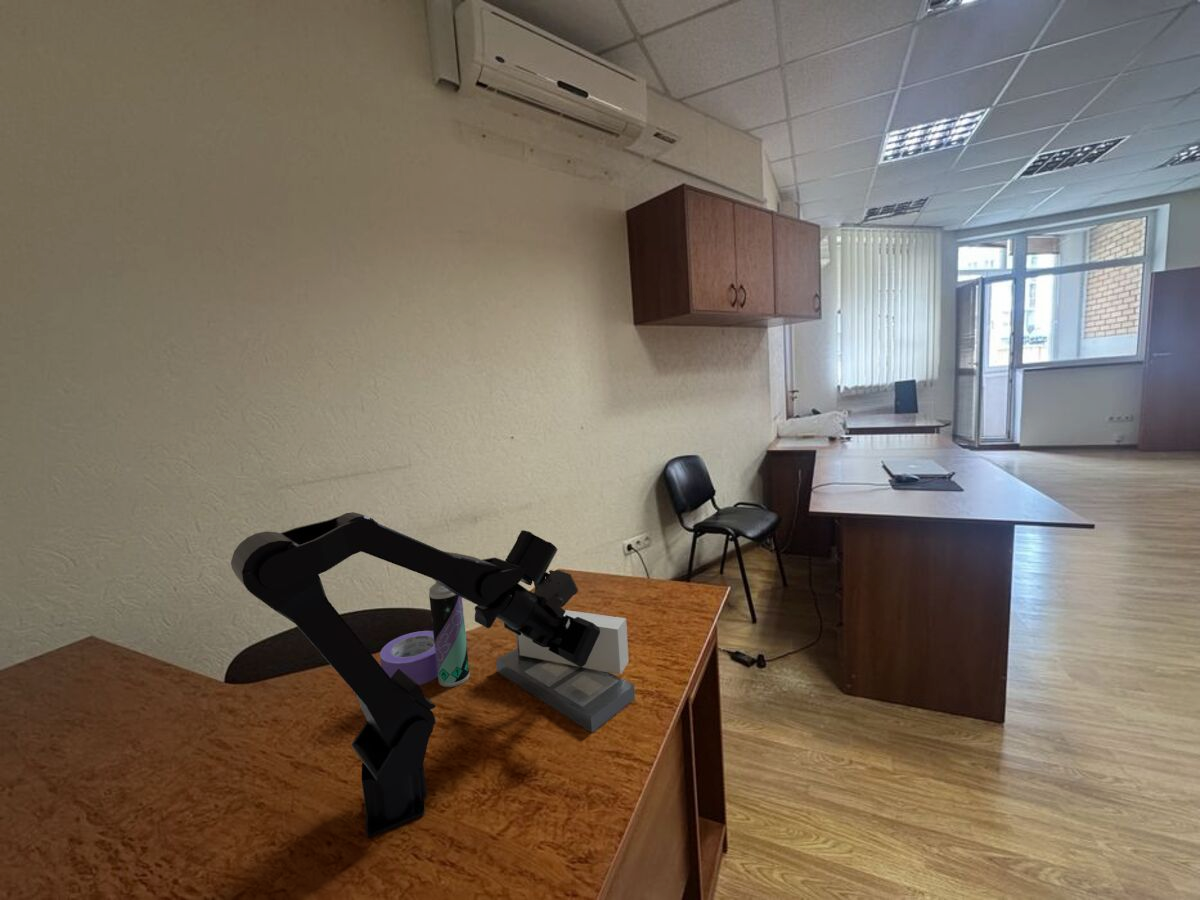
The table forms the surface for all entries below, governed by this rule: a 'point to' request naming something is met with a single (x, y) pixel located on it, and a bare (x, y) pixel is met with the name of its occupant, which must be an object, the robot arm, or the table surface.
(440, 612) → the spray can
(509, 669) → the server tray
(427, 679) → the tape roll
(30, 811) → the table surface
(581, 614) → the upright grey slab
